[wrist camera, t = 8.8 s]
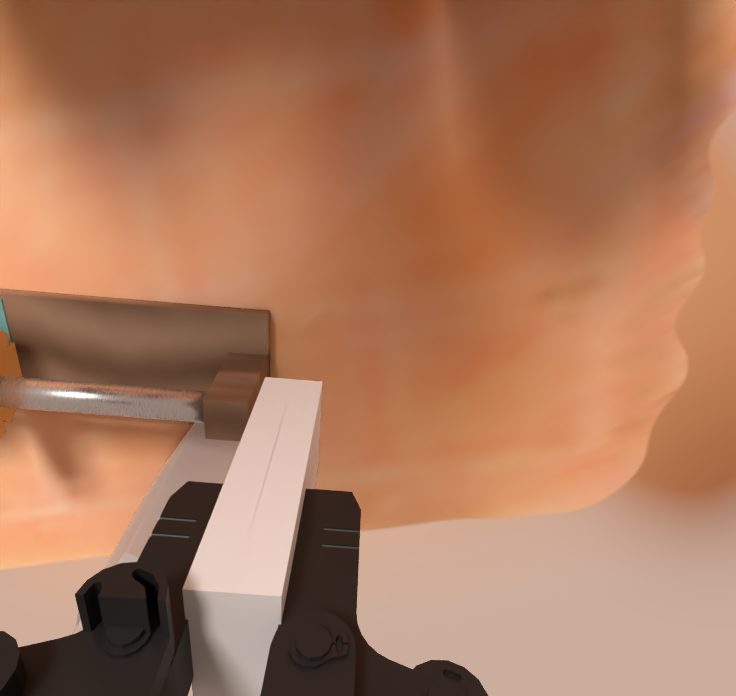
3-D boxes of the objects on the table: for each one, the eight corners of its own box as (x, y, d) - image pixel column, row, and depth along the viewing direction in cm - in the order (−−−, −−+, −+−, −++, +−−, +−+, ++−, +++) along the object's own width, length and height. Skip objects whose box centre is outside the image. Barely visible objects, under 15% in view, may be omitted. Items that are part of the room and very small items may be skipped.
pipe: (-104, 357, 38) (-136, 375, 36) (235, 384, 38) (226, 403, 36) (-93, 388, 39) (-123, 408, 37) (236, 414, 40) (227, 435, 37)
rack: (-84, 281, 41) (-182, 323, 34) (269, 310, 42) (246, 357, 34) (-50, 393, 45) (-130, 451, 38) (269, 418, 46) (249, 480, 39)
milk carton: (199, 415, 46) (93, 610, 29) (269, 456, 48) (208, 662, 31) (161, 467, 49) (42, 675, 31) (229, 504, 50) (152, 720, 33)
